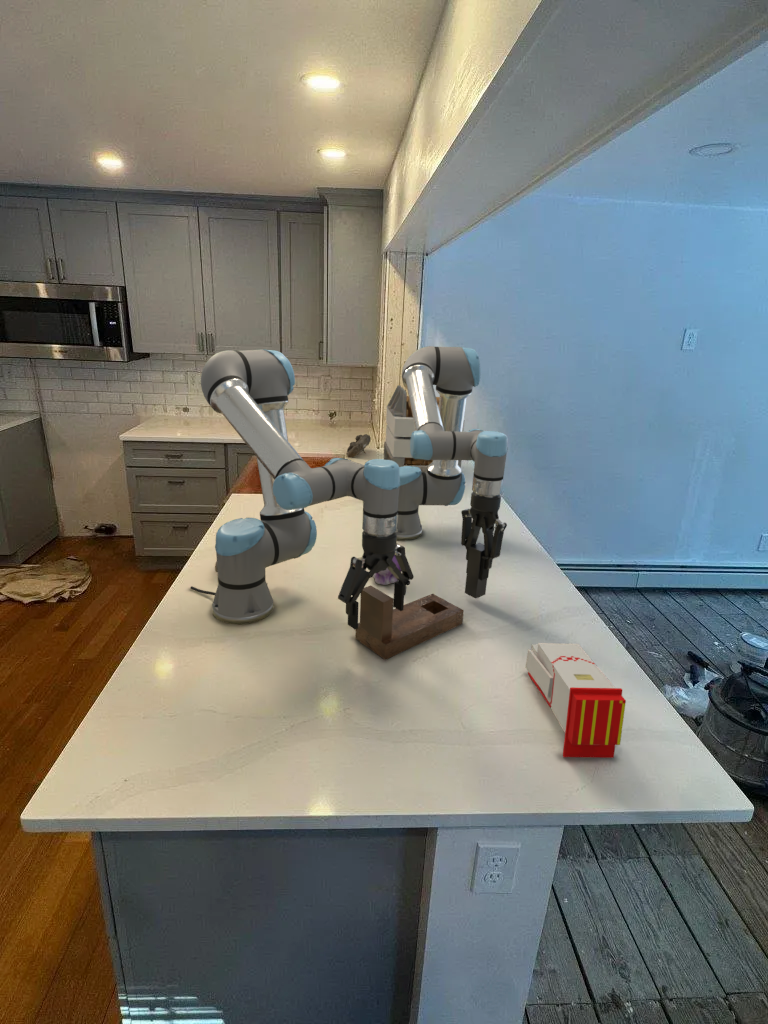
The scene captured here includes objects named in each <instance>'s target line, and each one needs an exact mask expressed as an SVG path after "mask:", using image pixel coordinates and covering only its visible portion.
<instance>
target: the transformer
mask: <svg viewBox="0 0 768 1024" xmlns="http://www.w3.org/2000/svg"><path fill="white" fill-rule="evenodd" d="M407 394H408V392H407V389H404V388H403V387H402V385H399V384H398V385H397V386H396V388H395V390H394V392H393V394H392V395H391V398H390V400H389V402H388V404H387V405H386V413H385V414H386V415H385V423H386V428H385V438H384V442H383V459H384V460H391V461H394V462H396V463H397V464H398V466H399V467H403V466H412V467H414V466H415V467H428V465H429V464H431V463H432V462H433V460H423V459H414V458H413V457H412V456H411V452H410V439H411V434H412V432H413V431H416V430H415V425H414V420H413V414H412V409H411V404H410V399H409V395H407ZM439 399H440V396H436V400H437V404H438V408H439ZM464 429H465V419H464V420H463V428H462V432H465V430H464ZM462 461H463V460H458V466H459V467H460V468H461V469H462Z"/></svg>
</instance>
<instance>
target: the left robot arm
mask: <svg viewBox="0 0 768 1024" xmlns="http://www.w3.org/2000/svg"><path fill="white" fill-rule="evenodd" d="M295 378H296V376H295V370H294V368H293V366H292V363H291V361H290V360H289V358H288V357H286V356H285V355H284V353H282V352H280V351H279V350H274V349H266V348H263V349H245V350H243V349H242V350H232V349H231V350H230V349H229V350H222V351H220V352H217V353H215V354H214V355H212V356H211V357H210V358H208V360H206V363H205V364H204V366H203V369H202V371H201V375H200V387H201V391H202V394H203V397H204V399H205V400H206V402H207V404H208V405H209V406H210V407H211V408H212V410H213V411H214V412H215V413H218V414H222V415H223V416H224V418H225V419H226V421H227V422H228V423H229V424H230V426H231V427H232V428H233V429H234V430H235V432H236V433H237V434H238V436H239V437H240V438H241V439H242V440H243V442H244V443H245V444H246V446H247V447H248V449H250V451H251V453H252V454H253V455H254V456H255V457H256V461H257V468H258V475H259V482H260V487H261V493H262V500H263V501H262V502H263V507H262V509H261V510H260V511H259V519H258V518H257V517H256V518H254V517H245V518H243V517H239V518H235V519H232V520H229V521H227V522H225V523H224V524H222V525H221V526H220V527H219V528H218V530H217V532H216V533H215V545H214V548H215V549H214V550H215V551H216V552H215V553H216V554H215V555H216V561H217V571H218V572H217V587H216V590H215V592H214V591H208V590H203V589H199V588H197V587H195V586H192V585H191V586H190V590H193V591H195V592H197V593H201V594H205V595H211V596H214V597H213V601H212V604H211V608H212V615H213V617H214V618H215V619H216V620H218V621H220V622H223V623H225V624H231V625H244V624H245V625H246V624H247V625H248V624H253V623H256V622H259V621H262V620H264V619H265V618H267V617H268V616H270V615H271V614H272V612H273V611H274V598H273V595H272V594H271V590H270V587H269V586H268V582H267V580H266V568H269V567H271V566H274V565H278V564H281V563H284V562H286V561H290V560H292V559H298V558H301V556H304V555H307V554H309V553H310V552H311V551H312V549H313V548H314V547H315V544H316V542H317V535H318V529H317V525H316V522H315V519H313V516H312V514H311V513H309V512H308V511H305V509H306V508H308V507H310V506H311V507H312V506H314V505H318V504H322V503H324V502H329V501H334V500H337V499H342V498H345V497H351V498H354V499H356V500H360V501H362V506H363V507H362V522H361V523H362V526H361V528H362V530H363V531H362V533H361V547H362V551H363V553H362V556H361V557H356V556H351V558H350V563H349V568H348V571H347V573H346V576H345V578H344V581H343V583H342V586H341V589H340V590H339V593H338V595H337V599H338V600H340V602H343V603H344V604H345V614H346V615H347V625H348V626H349V627H351V628H352V629H353V630H354V631H356V629H358V623H359V603H360V602H359V601H357V600H358V598H359V597H360V596H361V592H362V590H363V588H365V587H366V586H367V584H368V582H369V580H370V579H371V578H374V574H375V573H378V572H380V571H384V570H386V569H387V568H388V570H389V571H390V572H391V573H392V574H393V575H394V577H395V578H396V579H397V580H398V581H396V582H394V583H393V584H394V585H393V599H394V600H393V608H394V609H395V608H396V609H398V610H400V611H403V606H404V605H405V596H406V593H407V587H409V586H410V585H411V581H412V580H413V579H415V578H414V577H415V576H414V573H413V571H412V568H411V565H410V563H409V561H408V558H407V556H406V547H405V546H403V545H401V544H399V543H397V541H398V540H397V533H396V530H397V518H398V497H399V486H400V473H399V466H398V464H397V463H396V462H394V461H391V460H384V458H374V459H369V460H367V461H366V462H365V463H364V464H363V463H359V462H356V461H353V460H351V459H348V458H341V457H333V458H332V459H330V460H329V461H327V462H326V463H325V464H324V465H323V466H317V467H311V466H309V464H308V463H307V462H306V461H305V460H304V459H303V457H302V456H301V455H300V454H299V453H298V452H297V450H296V449H295V448H294V447H293V445H292V444H291V443H290V441H289V436H288V430H287V424H286V417H285V407H287V405H288V404H289V397H288V396H289V395H290V394H291V393H292V392H293V390H294V388H295V387H294V386H295V384H296V379H295ZM394 555H395V557H396V559H397V562H398V564H399V566H400V569H401V571H400V570H399V569H398V568H397V567H396V564H395V563H394V562H393V561H392V559H393V557H394Z"/></svg>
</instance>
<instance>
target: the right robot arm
mask: <svg viewBox="0 0 768 1024" xmlns="http://www.w3.org/2000/svg"><path fill="white" fill-rule="evenodd" d="M481 373H482V372H481V362H480V356H479V353H478V352H477V350H476V349H474V348H471V347H464V346H434V345H433V346H431V345H429V346H423V347H420V348H419V349H416V350H415V351H414V352H412V353H411V354H410V355H409V356H408V357H407V358H406V361H405V363H404V364H403V365H402V370H401V380H402V384H403V387H404V388H405V390H406V391H407V394H408V396H409V399H410V404H411V409H412V414H413V420H414V425H415V430H416V431H413V432H412V434H411V439H410V452H411V456H412V457H413V458H414V459H423V460H433V462H432V463H431V464H429V465H428V466H427V469H426V471H422V469H421V467H420V466H407V465H404V466H403V467H399V473H400V486H399V497H398V518H397V530H396V533H397V540H396V541H410V540H415V539H418V538H420V537H421V536H422V535H423V525H422V524H421V518H420V515H419V507H420V506H444V507H448V506H456V505H458V504H459V503H461V501H462V499H463V497H464V494H465V490H466V485H465V484H466V476H465V474H464V472H462V467H461V468H460V467H459V466H458V460H462V461H473V462H474V463H473V464H474V466H473V478H472V486H471V491H472V492H471V494H470V501H469V502H470V504H469V505H470V508H466V509H463V510H461V511H460V514H461V517H462V521H461V522H462V524H461V535H460V544H461V546H464V547H465V549H466V552H465V560H466V567H467V566H468V557H469V547H470V546H472V545H474V544H477V543H478V539H479V535H480V532H481V533H482V534H483V545H484V552H485V556H484V557H482V562H481V571H480V580H481V581H482V580H484V579H487V580H488V579H489V575H490V569H492V567H493V561H494V560H493V559H496V558H499V557H500V556H501V552H502V547H503V540H504V532H505V530H506V528H507V526H508V524H507V522H502V521H501V520H500V518H499V517H500V516H499V510H500V508H501V500H502V495H501V494H502V493H503V485H504V475H505V468H506V461H507V453H508V450H509V447H508V444H509V443H508V441H509V437H508V435H506V433H503V432H500V431H497V430H482V429H479V428H472V429H469V430H468V431H464V432H462V428H463V420H465V413H466V412H465V411H466V404H467V398H468V397H469V396H470V395H472V393H473V388H476V387H478V386H479V385H480V382H481V375H482V374H481ZM434 386H435V388H434ZM435 391H436V392H435ZM436 393H437V394H439V397H440V399H439V408H438V404H437V400H436V397H437V396H436ZM465 573H466V574H467V568H466V571H465Z"/></svg>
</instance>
